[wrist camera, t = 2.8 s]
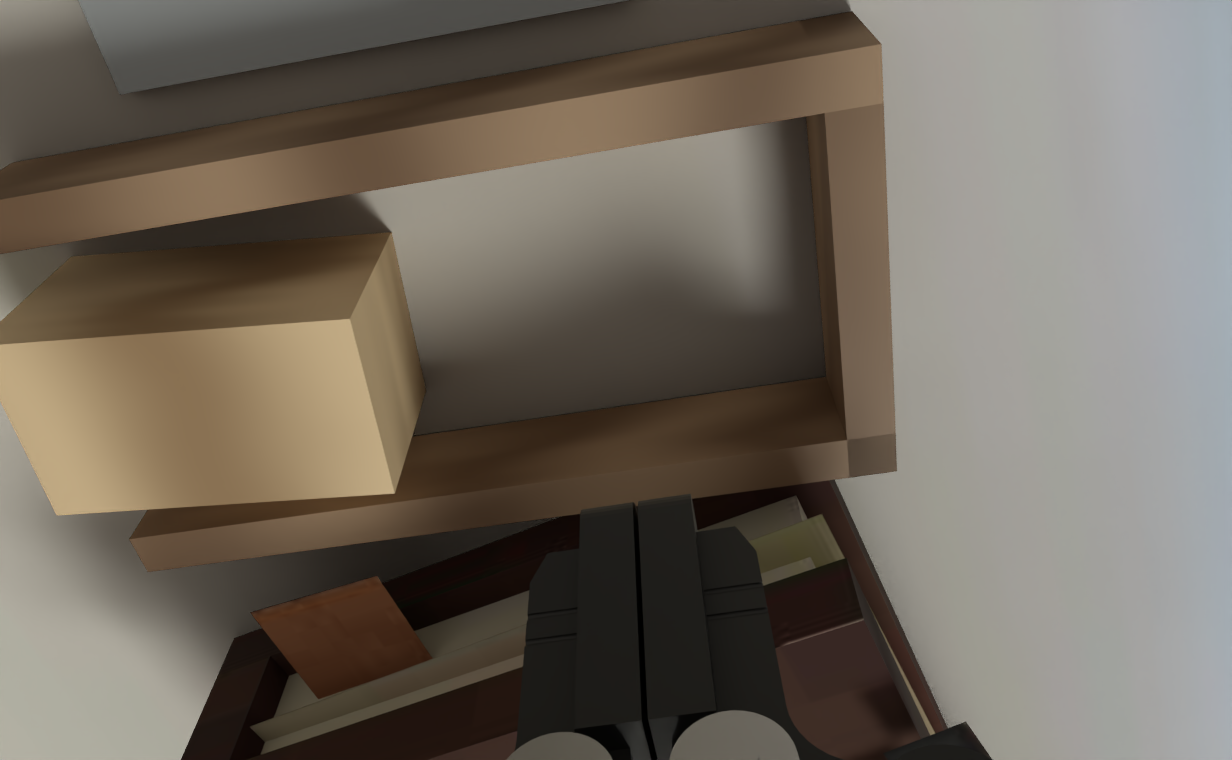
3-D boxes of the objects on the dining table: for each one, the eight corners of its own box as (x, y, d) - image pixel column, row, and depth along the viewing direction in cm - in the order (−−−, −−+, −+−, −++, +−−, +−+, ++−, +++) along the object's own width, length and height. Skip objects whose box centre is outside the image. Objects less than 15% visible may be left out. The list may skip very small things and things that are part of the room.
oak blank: (392, 229, 21) (349, 318, 18) (427, 386, 23) (394, 493, 20) (74, 253, 22) (-27, 346, 18) (137, 406, 24) (56, 515, 20)
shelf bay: (852, 11, 19) (881, 44, 17) (872, 406, 23) (896, 471, 21) (11, 162, 20) (-59, 210, 18) (188, 502, 25) (147, 571, 23)
